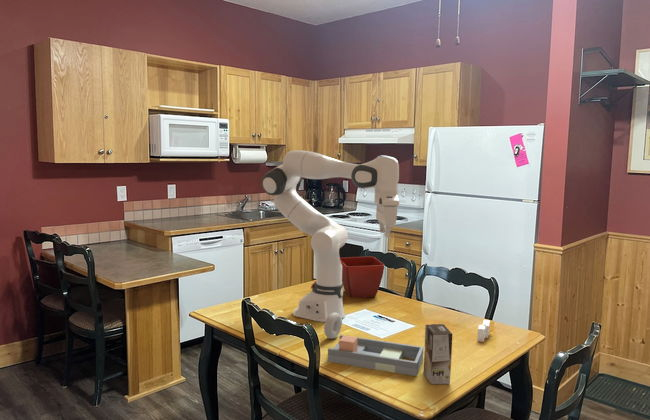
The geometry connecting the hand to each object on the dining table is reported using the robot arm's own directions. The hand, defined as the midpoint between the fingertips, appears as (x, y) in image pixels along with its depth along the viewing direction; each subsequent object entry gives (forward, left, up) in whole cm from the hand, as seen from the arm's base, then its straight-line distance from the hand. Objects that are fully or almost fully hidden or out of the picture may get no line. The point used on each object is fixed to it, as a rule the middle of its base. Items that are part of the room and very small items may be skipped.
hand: (384, 234), depth 190 cm
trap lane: (+4, -26, -39) cm, 47 cm away
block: (-5, -29, -37) cm, 47 cm away
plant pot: (-22, +48, -40) cm, 66 cm away
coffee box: (+25, -31, -39) cm, 56 cm away
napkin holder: (+37, +12, -40) cm, 56 cm away
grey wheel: (-16, -12, -39) cm, 44 cm away
